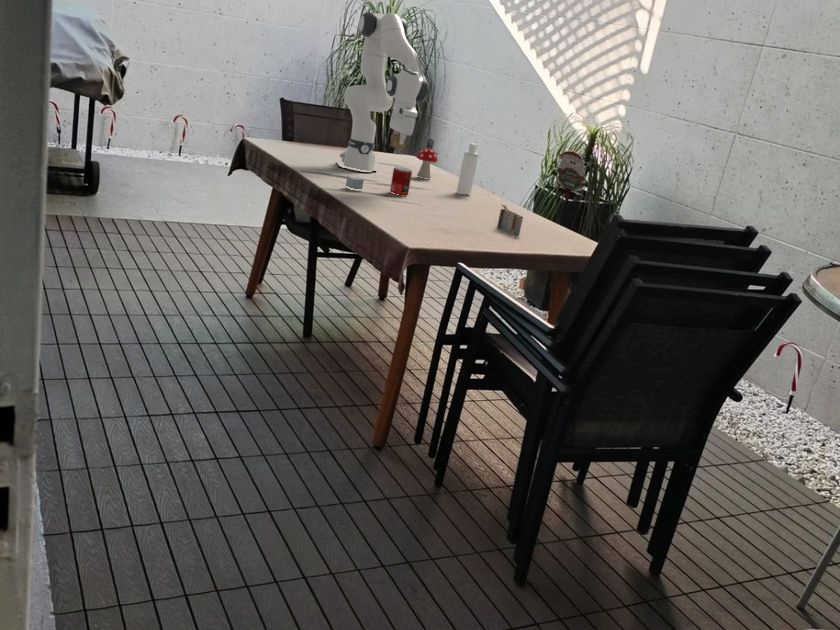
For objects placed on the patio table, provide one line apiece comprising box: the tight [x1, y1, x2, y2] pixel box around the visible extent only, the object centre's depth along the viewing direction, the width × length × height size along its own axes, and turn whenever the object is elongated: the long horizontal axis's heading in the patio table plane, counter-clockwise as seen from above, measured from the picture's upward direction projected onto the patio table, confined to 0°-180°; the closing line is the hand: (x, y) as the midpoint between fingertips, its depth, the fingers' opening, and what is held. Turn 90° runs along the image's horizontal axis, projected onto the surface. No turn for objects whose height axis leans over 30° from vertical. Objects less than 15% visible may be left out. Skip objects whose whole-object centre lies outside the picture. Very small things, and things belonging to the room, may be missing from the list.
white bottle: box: [456, 142, 479, 196], centre depth 374 cm, size 7×7×25 cm
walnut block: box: [389, 133, 408, 150], centre depth 339 cm, size 5×5×5 cm
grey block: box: [345, 176, 365, 190], centre depth 337 cm, size 5×5×5 cm
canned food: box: [389, 166, 413, 196], centre depth 346 cm, size 8×8×11 cm
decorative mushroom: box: [416, 147, 438, 180], centre depth 398 cm, size 10×9×15 cm
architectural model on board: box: [496, 203, 524, 236], centre depth 314 cm, size 11×3×10 cm, turn 30°
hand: (398, 142), depth 340 cm, fingers closed on walnut block, 5 cm apart
